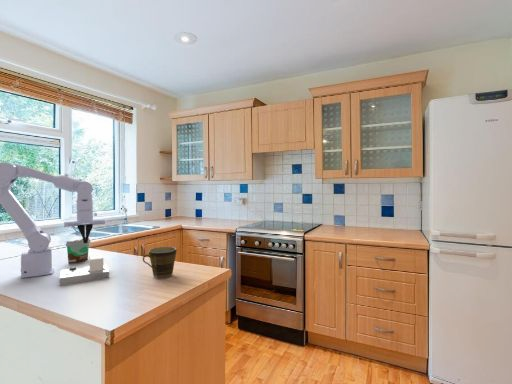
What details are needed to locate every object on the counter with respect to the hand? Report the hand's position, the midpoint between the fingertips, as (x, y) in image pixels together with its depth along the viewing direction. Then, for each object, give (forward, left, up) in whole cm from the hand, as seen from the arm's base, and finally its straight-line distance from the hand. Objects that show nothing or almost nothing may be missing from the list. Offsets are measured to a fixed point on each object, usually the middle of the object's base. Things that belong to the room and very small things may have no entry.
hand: (85, 242), depth 119 cm
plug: (+3, -15, -10) cm, 18 cm away
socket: (-1, -15, -10) cm, 18 cm away
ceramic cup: (+23, -30, -11) cm, 39 cm away
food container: (-1, +14, -11) cm, 18 cm away
